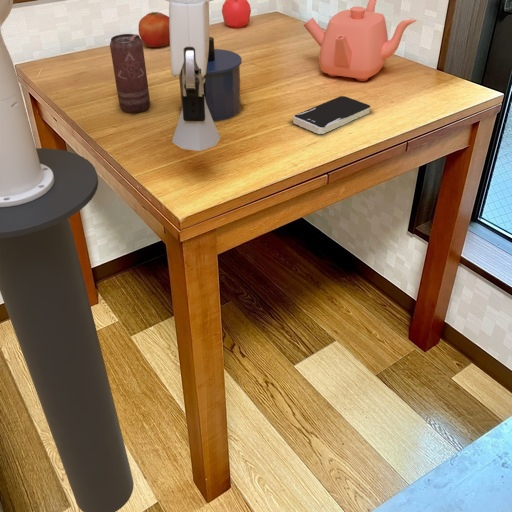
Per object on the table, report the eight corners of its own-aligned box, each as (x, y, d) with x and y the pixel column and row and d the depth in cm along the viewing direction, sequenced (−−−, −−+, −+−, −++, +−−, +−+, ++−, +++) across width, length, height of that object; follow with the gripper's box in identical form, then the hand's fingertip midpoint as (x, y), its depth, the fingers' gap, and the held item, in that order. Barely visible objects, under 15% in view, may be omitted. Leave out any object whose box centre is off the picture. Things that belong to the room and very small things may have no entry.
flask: (201, 156, 89) (198, 92, 83) (163, 144, 92) (158, 81, 86) (228, 138, 94) (228, 76, 88) (191, 127, 97) (188, 66, 91)
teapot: (369, 53, 145) (375, -7, 137) (409, 80, 131) (418, 14, 123) (300, 63, 140) (302, 1, 132) (333, 91, 126) (338, 24, 118)
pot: (205, 126, 114) (202, 78, 108) (171, 108, 121) (166, 61, 115) (252, 109, 119) (251, 63, 114) (216, 93, 127) (214, 48, 121)
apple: (216, 26, 164) (214, -5, 159) (235, 19, 169) (234, -11, 164) (238, 31, 160) (237, 0, 155) (257, 24, 165) (256, -6, 160)
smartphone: (372, 106, 117) (321, 129, 109) (371, 112, 118) (320, 135, 110) (342, 95, 122) (291, 116, 114) (342, 101, 122) (290, 123, 114)
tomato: (147, 53, 147) (142, 19, 142) (135, 42, 154) (130, 10, 149) (182, 47, 151) (179, 14, 146) (168, 37, 157) (165, 5, 152)
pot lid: (202, 82, 108) (200, 54, 104) (163, 64, 115) (160, 37, 112) (255, 66, 114) (254, 39, 111) (215, 50, 122) (213, 24, 119)
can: (157, 105, 122) (149, 35, 113) (136, 116, 118) (126, 44, 109) (135, 99, 125) (125, 30, 116) (113, 109, 120) (102, 39, 112)
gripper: (166, -30, 86) (174, 93, 97) (154, 1, 73) (165, 138, 84) (218, -29, 86) (220, 93, 97) (215, 1, 73) (218, 139, 84)
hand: (195, 113), depth 90 cm, fingers closed on flask, 3 cm apart
